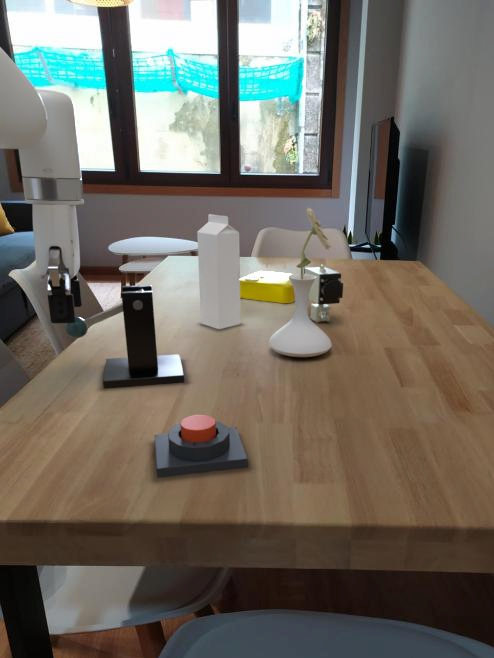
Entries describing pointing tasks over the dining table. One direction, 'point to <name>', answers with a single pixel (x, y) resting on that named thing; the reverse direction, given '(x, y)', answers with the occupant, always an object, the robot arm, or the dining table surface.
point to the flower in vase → (302, 311)
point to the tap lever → (91, 321)
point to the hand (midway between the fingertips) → (67, 314)
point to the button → (198, 428)
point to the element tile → (267, 287)
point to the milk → (219, 273)
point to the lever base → (141, 346)
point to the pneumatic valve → (324, 291)
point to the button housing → (199, 452)
